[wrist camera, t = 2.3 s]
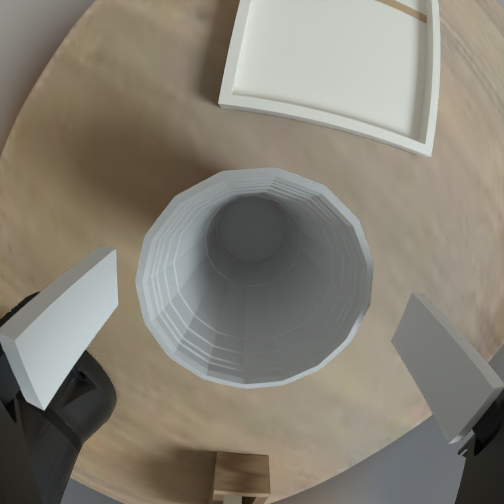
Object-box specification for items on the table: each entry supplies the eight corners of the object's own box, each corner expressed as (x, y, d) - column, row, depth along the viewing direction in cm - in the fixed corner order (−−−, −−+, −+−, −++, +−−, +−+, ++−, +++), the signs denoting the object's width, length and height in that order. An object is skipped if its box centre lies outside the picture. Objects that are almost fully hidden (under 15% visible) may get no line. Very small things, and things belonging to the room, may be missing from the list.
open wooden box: (207, 505, 44) (205, 529, 37) (217, 451, 34) (214, 490, 28) (241, 508, 44) (241, 532, 38) (268, 455, 35) (270, 493, 28)
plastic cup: (344, 204, 23) (422, 256, 11) (275, 307, 26) (290, 410, 14) (227, 134, 21) (204, 114, 9) (166, 250, 24) (106, 330, 13)
